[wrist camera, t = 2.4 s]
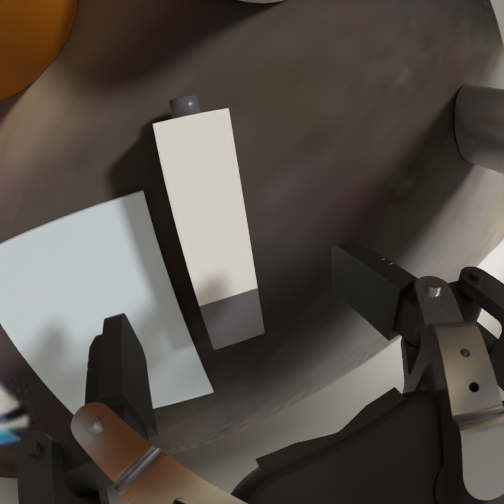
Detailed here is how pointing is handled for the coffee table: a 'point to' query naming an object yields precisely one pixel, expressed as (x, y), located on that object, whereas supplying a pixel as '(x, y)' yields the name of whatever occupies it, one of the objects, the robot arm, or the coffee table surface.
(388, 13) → the coffee table surface
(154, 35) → the coffee table surface
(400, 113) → the coffee table surface
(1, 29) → the mug
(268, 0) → the teacup with lid
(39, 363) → the paper pad
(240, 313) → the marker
